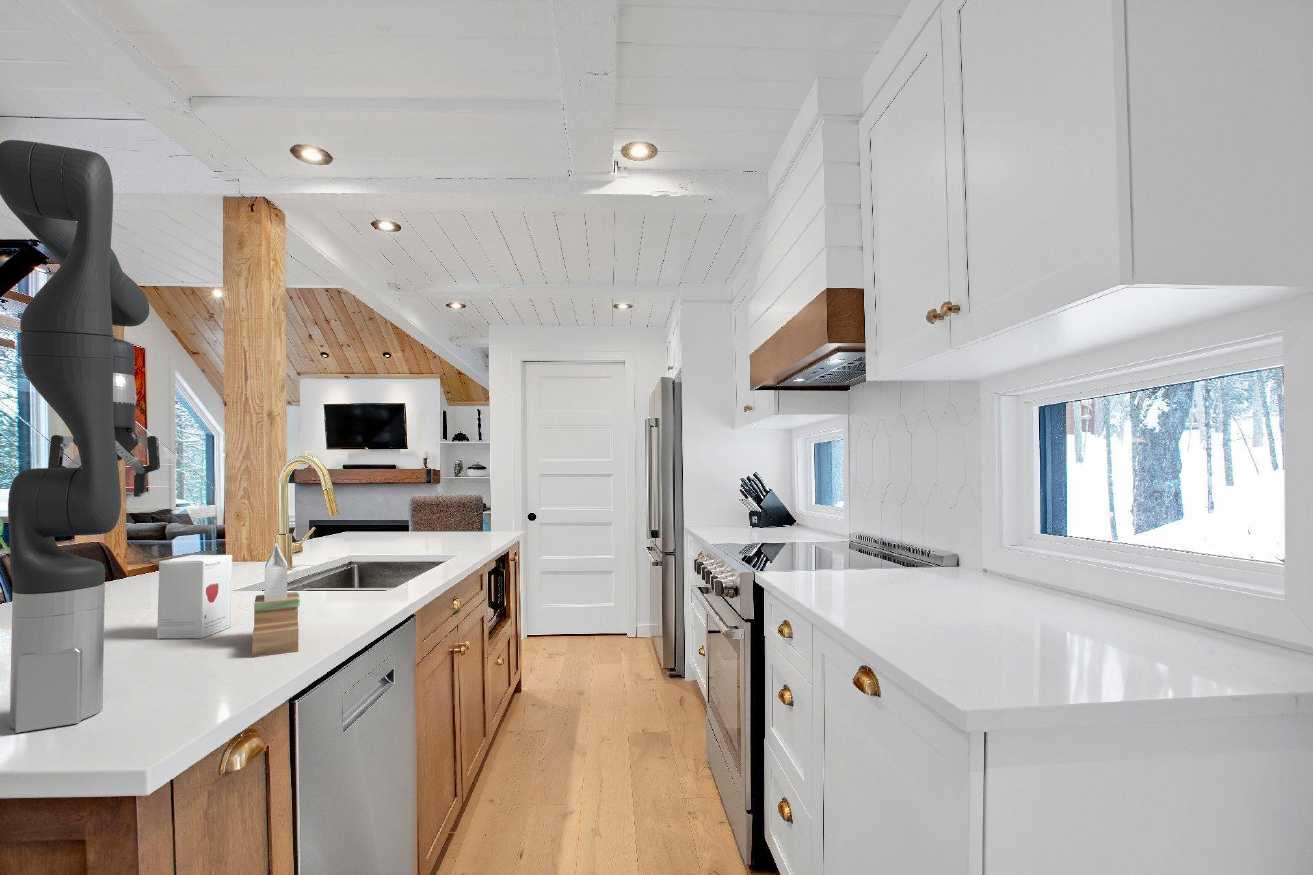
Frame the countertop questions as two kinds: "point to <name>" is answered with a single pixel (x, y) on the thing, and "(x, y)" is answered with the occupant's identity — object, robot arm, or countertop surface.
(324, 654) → the countertop surface
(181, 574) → the supplement box
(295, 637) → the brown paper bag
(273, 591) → the white milk carton
